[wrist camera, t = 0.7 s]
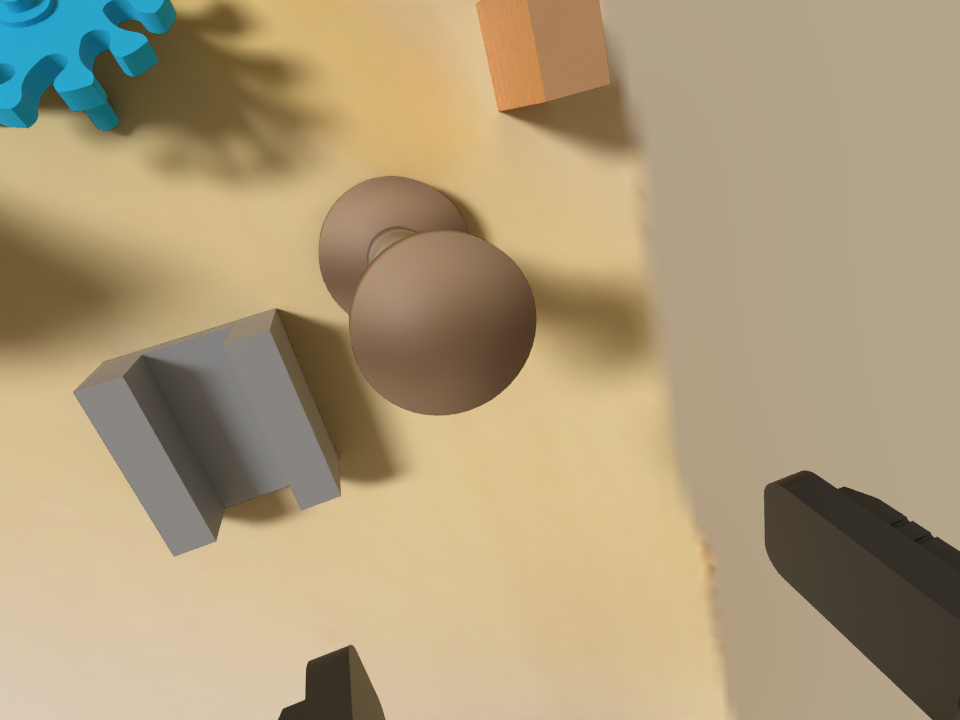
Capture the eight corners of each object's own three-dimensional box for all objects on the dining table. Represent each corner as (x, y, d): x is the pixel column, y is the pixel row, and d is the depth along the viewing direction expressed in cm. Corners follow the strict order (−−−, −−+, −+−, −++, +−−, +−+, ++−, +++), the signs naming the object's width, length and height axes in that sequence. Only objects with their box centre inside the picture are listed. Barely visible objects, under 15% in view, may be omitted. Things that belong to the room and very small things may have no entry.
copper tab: (475, 4, 28) (520, -38, 22) (531, -10, 28) (591, -54, 22) (498, 111, 30) (545, 102, 24) (550, 97, 30) (610, 84, 24)
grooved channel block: (103, 361, 29) (72, 392, 26) (275, 308, 31) (269, 330, 27) (190, 512, 33) (173, 556, 30) (339, 459, 35) (340, 496, 31)
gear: (168, -98, 23) (144, 82, 19) (225, 39, 28) (215, 200, 24) (-131, -85, 22) (-223, 108, 18) (-12, 54, 27) (-63, 225, 23)
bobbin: (295, 200, 29) (273, 244, 16) (444, 158, 30) (538, 166, 17) (348, 340, 32) (365, 474, 19) (480, 298, 33) (583, 396, 20)
